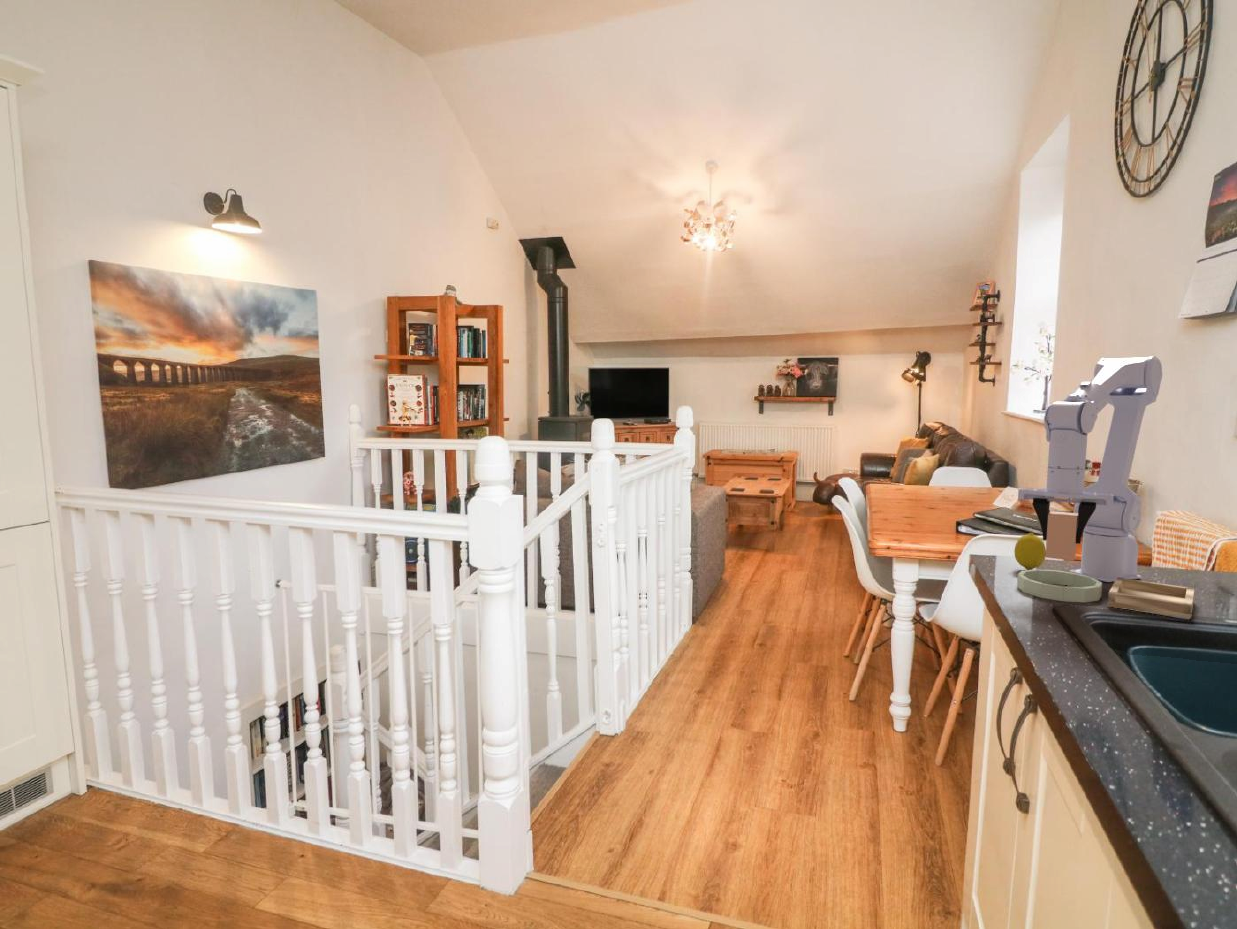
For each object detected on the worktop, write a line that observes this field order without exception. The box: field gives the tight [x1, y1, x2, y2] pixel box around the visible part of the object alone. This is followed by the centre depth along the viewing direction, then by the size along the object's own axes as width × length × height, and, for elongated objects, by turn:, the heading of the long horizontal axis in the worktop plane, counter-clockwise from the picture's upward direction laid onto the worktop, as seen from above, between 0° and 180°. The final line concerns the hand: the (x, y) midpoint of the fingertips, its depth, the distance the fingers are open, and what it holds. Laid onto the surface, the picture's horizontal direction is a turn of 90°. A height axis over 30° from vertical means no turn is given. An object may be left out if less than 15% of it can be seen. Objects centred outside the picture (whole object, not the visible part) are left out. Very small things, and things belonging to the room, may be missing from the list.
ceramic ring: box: [1016, 568, 1103, 603], centre depth 127 cm, size 13×13×2 cm
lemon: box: [1014, 532, 1046, 570], centre depth 141 cm, size 6×6×8 cm
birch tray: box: [1107, 577, 1195, 619], centre depth 119 cm, size 13×11×2 cm
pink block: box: [1045, 510, 1078, 562], centre depth 126 cm, size 4×4×8 cm
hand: (1061, 541), depth 126 cm, fingers closed on pink block, 4 cm apart
